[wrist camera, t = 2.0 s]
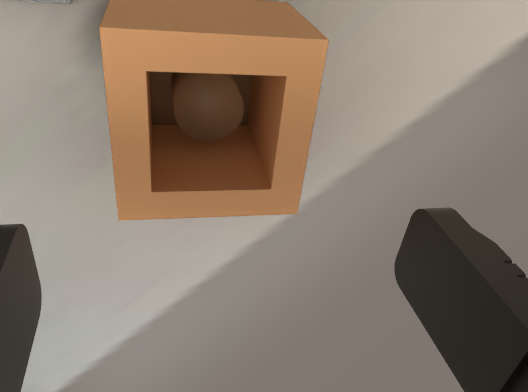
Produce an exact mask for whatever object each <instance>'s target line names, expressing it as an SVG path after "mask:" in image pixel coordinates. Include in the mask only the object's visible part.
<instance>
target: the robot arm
mask: <svg viewBox="0 0 528 392" xmlns="http://www.w3.org/2000/svg"><path fill="white" fill-rule="evenodd" d="M395 276H396V280H397V283H398V285H399V287H400V289H401V290H402V292H403V294H404V295H405V297H406V299H407V300H408V302H409V303H410V305H411V307H412V308H413V310H414V311H415V313H416V315H417V316H418V318H419V319H420V321H421V323H422V324H423V326H424V327H425V329H426V331H427V332H428V334H429V335H430V337H431V339H432V340H433V342H434V344H435V345H436V347H437V348H438V350H439V352H440V353H441V355H442V356H443V358H444V359H445V361H446V363H447V364H448V366H449V368H450V369H451V371H452V372H453V374H454V376H455V377H456V379H457V381H458V382H459V384H460V385H461V387H462V389H463V390H464V392H528V278H526V276H525V273H524V272H523V271H522V270H521V269H520V268H519V267H518V266H517V265H516V264H512V260H511V259H510V258H509V257H508V256H507V255H506V253H505V252H504V251H503V250H502V249H501V248H500V247H499V246H498V245H497V244H496V243H495V242H493V241H492V240H490V239H488V238H487V237H485V236H484V235H482V234H481V233H479V232H478V231H476V230H475V229H473V228H472V227H470V225H469V224H468V223H467V222H466V221H465V220H464V219H463V218H462V217H461V216H460V215H459V213H458V212H457V211H455V210H454V209H452V208H430V209H418V210H416V211H415V212H414V213H413V215H412V216H411V219H410V222H409V224H408V227H407V230H406V232H405V235H404V238H403V241H402V244H401V246H400V249H399V252H398V254H397V257H396V260H395ZM40 311H41V285H40V280H39V276H38V272H37V268H36V264H35V260H34V255H33V251H32V247H31V243H30V239H29V235H28V231H27V229H26V227H25V225H23V224H9V225H0V392H21V388H22V384H23V380H24V376H25V372H26V368H27V364H28V360H29V356H30V352H31V348H32V344H33V340H34V336H35V332H36V328H37V324H38V320H39V316H40Z"/></svg>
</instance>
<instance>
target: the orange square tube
mask: <svg viewBox="0 0 528 392" xmlns="http://www.w3.org/2000/svg"><path fill="white" fill-rule="evenodd" d="M99 28H100V38H101V49H102V59H103V69H104V79H105V89H106V99H107V109H108V119H109V129H110V139H111V149H112V159H113V169H114V179H115V189H116V199H117V209H118V219H119V220H144V219H171V218H198V217H225V216H252V215H279V214H297V212H298V206H299V201H300V196H301V190H302V185H303V179H304V174H305V168H306V163H307V157H308V152H309V146H310V141H311V135H312V130H313V124H314V119H315V113H316V108H317V102H318V97H319V92H320V86H321V81H322V75H323V70H324V64H325V59H326V53H327V48H328V42H329V40H328V39H327V38H326V37H325V36H324V35H323V34H322V33H321V32H320V31H318V30H317V29H316V28H315V27H314V26H313V25H312V24H311V23H310V22H308V21H307V20H306V19H305V18H304V17H303V16H302V15H301V14H300V13H299V12H297V11H296V10H295V9H294V8H293V7H292V6H291V5H290V4H289V3H287V2H278V1H265V0H110V1H109V4H108V6H107V9H106V11H105V14H104V17H103V19H102V22H101V24H100V27H99ZM150 71H154V72H182V73H211V74H240V75H252V76H251V87H250V98H249V109H248V120H247V126H238V127H237V128H236V129H235V130H234V131H233V132H232V133H231V134H230V135H228V136H227V137H225V138H223V139H220V140H216V141H200V140H197V139H194V138H192V137H190V136H188V135H187V134H186V133H184V132H183V131H182V130H181V128H180V127H179V125H152V108H151V83H150Z"/></svg>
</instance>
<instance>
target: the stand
mask: <svg viewBox="0 0 528 392" xmlns="http://www.w3.org/2000/svg"><path fill="white" fill-rule="evenodd" d="M251 76H252V75H240V74H211V73H182V72H154V71H150V83H151V108H152V124H153V125H179V127H180V128H181V130H182V131H183V132H184V133H186V134H187V135H188V136H190V137H192V138H194V139H197V140H200V141H216V140H220V139H223V138H225V137H227V136H228V135H230V134H231V133H232V132H233V131H234V130H235V129H236V128H237V127H238V126H246V125H247V120H248V109H249V98H250V87H251Z"/></svg>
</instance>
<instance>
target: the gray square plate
mask: <svg viewBox="0 0 528 392" xmlns="http://www.w3.org/2000/svg"><path fill="white" fill-rule="evenodd" d="M21 1H36V2H51V3H67V4H71V2H72V1H73V0H21Z"/></svg>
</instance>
